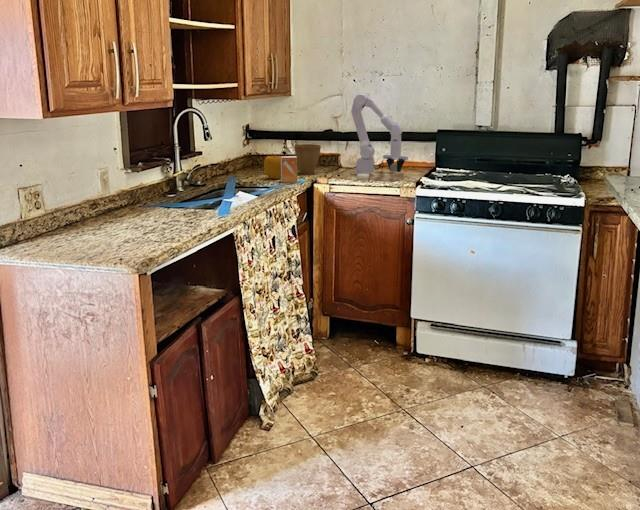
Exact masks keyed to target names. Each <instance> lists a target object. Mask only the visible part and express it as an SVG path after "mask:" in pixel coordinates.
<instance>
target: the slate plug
mask: <svg viewBox="0 0 640 510" xmlns="http://www.w3.org/2000/svg"><path fill="white" fill-rule="evenodd" d="M389 171H392V172H397V162H394V163H392V165H390V169H389Z"/></svg>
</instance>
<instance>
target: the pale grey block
mask: <svg viewBox="0 0 640 510" xmlns="http://www.w3.org/2000/svg"><path fill="white" fill-rule="evenodd" d="M356 180H357V181H370V180H369V174H366V173H360V174H356Z"/></svg>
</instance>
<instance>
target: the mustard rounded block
mask: <svg viewBox="0 0 640 510" xmlns="http://www.w3.org/2000/svg"><path fill="white" fill-rule="evenodd" d="M281 156H282V155H281ZM281 156H280V155H276V154H274V155H267V156H266V157H265V158H264V161H263V169H264V171H265V174H266V176H267V177H268V178H269V179H273V180H281Z"/></svg>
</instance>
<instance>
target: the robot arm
mask: <svg viewBox="0 0 640 510" xmlns="http://www.w3.org/2000/svg"><path fill="white" fill-rule="evenodd" d="M352 102H353V103H352V106H351V107H352V108H351V112H350V113H351V116H352V120H353V122H354V125H355V130H356V133H357V137H358V139H359V149H360V151H359V154H360V156H361V157H359V158H357V160H356V162H355V175H357V174H360V173H366V174H369V173H372V172H375V170H374V169H375V167H374V165H375V163H374V162H375V159H374V155H375V148H374V146H373V145H372V143H371V141H370V139H369V136H368V132H367V129H366V125H365V121H364V118H363V114H362V111H363V110H364V109H365V107H367V108H370V109H371V110H372V111H373V112H374V113H375V114H376V115H377V116H378V117H379V118H380V123H381V124H382V125H383V126H384V127H385V128H386V129H387V130H388V131H389V134H390V152H389V154H383V155H382V159H384V160H385V159H386V160H385V161H386V164H387V166H388V168H389V170H390V165H392V163H395V160H396V163H397V172H402V169H403V168H402V167H403V165H404V163H405V161H409V156H406V155H402V133H403V128H402V126H401V125H400V124H399V123H398V122H397V121H395V119H394V118H393V115H390V114H389V113H385V112H384V111H383V109H382V108H381V107H380V106H379V105H378V103H376V101H375V100H374V98H372V97H371V96H369V94H368V93H366V92H363V93H358V94H356V95H355V97H354V98H353V101H352Z"/></svg>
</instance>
